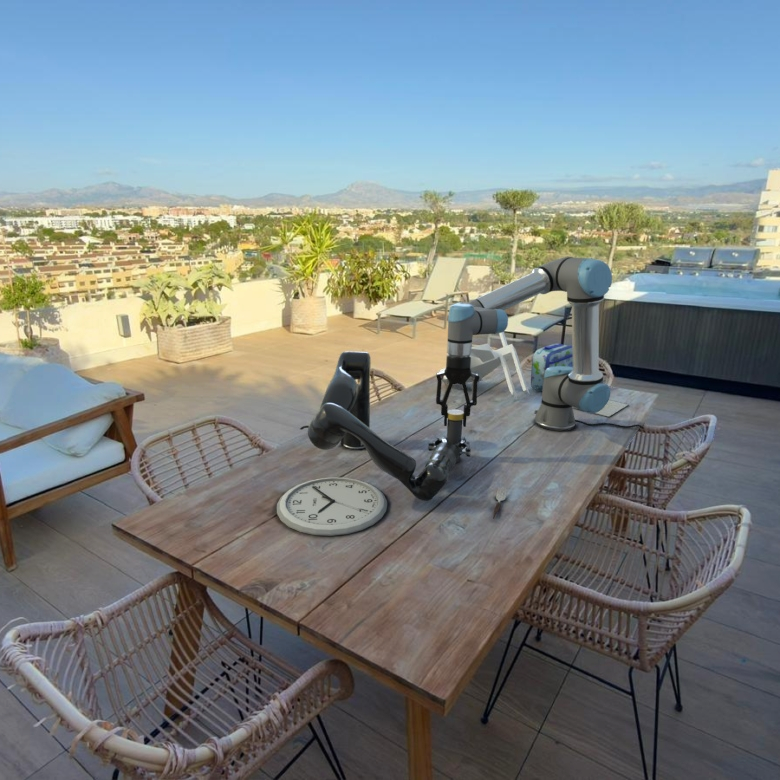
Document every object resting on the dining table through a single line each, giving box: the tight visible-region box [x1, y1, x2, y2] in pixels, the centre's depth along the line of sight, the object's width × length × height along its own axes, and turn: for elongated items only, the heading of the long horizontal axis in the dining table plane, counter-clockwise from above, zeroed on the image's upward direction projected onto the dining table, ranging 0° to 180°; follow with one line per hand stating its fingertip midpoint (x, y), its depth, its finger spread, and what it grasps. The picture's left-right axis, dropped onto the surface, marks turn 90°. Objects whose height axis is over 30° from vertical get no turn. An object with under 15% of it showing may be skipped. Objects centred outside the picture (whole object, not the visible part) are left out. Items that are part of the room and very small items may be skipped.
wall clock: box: [276, 476, 388, 537], centre depth 142 cm, size 30×2×30 cm
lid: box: [447, 408, 464, 421], centre depth 167 cm, size 5×5×2 cm
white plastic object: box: [438, 331, 531, 400], centre depth 245 cm, size 37×45×31 cm
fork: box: [492, 486, 508, 519], centre depth 143 cm, size 3×16×2 cm, turn 160°
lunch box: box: [530, 343, 573, 391], centre depth 249 cm, size 26×11×21 cm, turn 134°
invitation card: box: [573, 399, 629, 418], centre depth 226 cm, size 21×1×15 cm
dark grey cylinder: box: [446, 418, 463, 464], centre depth 170 cm, size 5×5×16 cm
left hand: (455, 438), depth 172 cm, fingers closed on dark grey cylinder, 4 cm apart
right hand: (454, 424), depth 168 cm, fingers closed on lid, 5 cm apart
